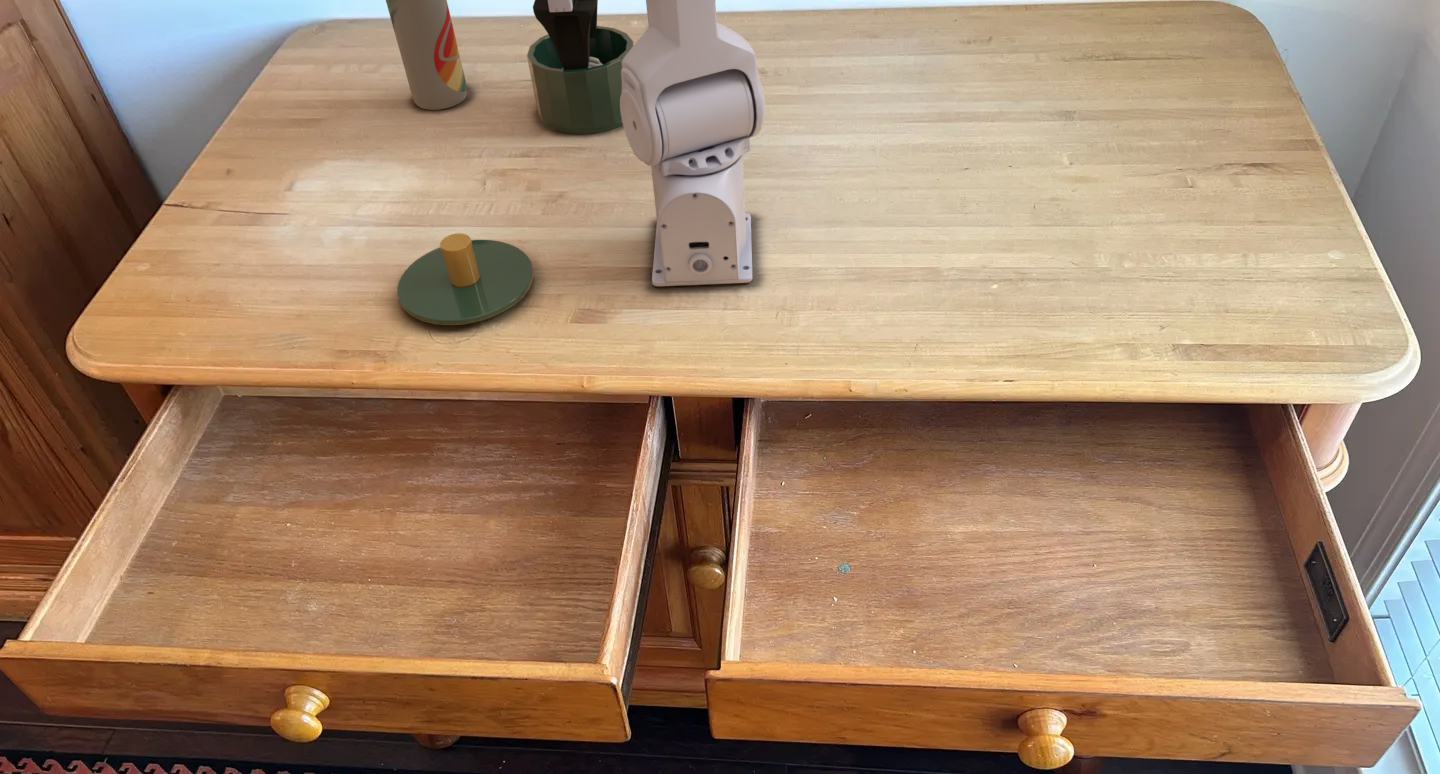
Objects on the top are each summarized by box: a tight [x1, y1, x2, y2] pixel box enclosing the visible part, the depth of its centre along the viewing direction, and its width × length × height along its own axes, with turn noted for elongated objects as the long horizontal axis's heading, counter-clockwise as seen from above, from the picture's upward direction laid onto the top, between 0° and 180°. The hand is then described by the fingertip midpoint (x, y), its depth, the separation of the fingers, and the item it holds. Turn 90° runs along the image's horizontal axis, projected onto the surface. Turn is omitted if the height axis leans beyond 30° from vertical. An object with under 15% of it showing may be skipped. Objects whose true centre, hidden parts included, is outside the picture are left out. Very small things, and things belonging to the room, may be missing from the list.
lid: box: [396, 232, 535, 326], centre depth 84 cm, size 11×11×5 cm
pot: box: [526, 25, 635, 135], centre depth 104 cm, size 10×10×6 cm
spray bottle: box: [385, 0, 468, 111], centre depth 103 cm, size 6×6×20 cm
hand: (581, 54), depth 103 cm, fingers open, 7 cm apart
